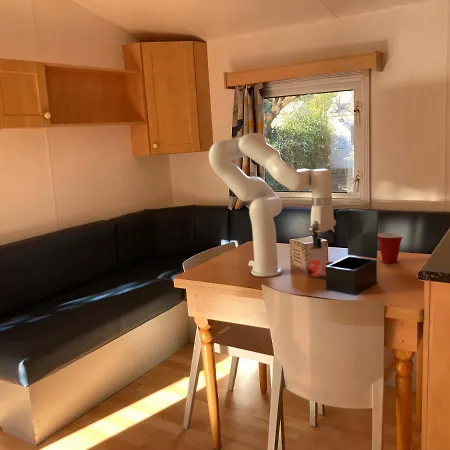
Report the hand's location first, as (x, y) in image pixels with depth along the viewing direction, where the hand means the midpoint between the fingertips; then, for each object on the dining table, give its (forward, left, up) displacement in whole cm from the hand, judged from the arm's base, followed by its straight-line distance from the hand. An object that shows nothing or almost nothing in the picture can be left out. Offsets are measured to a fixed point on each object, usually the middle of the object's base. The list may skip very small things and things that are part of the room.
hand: (324, 245), depth 192 cm
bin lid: (+14, +5, +5) cm, 15 cm away
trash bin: (+14, -4, -13) cm, 19 cm away
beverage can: (0, 0, -13) cm, 13 cm away
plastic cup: (+12, +33, -13) cm, 37 cm away
